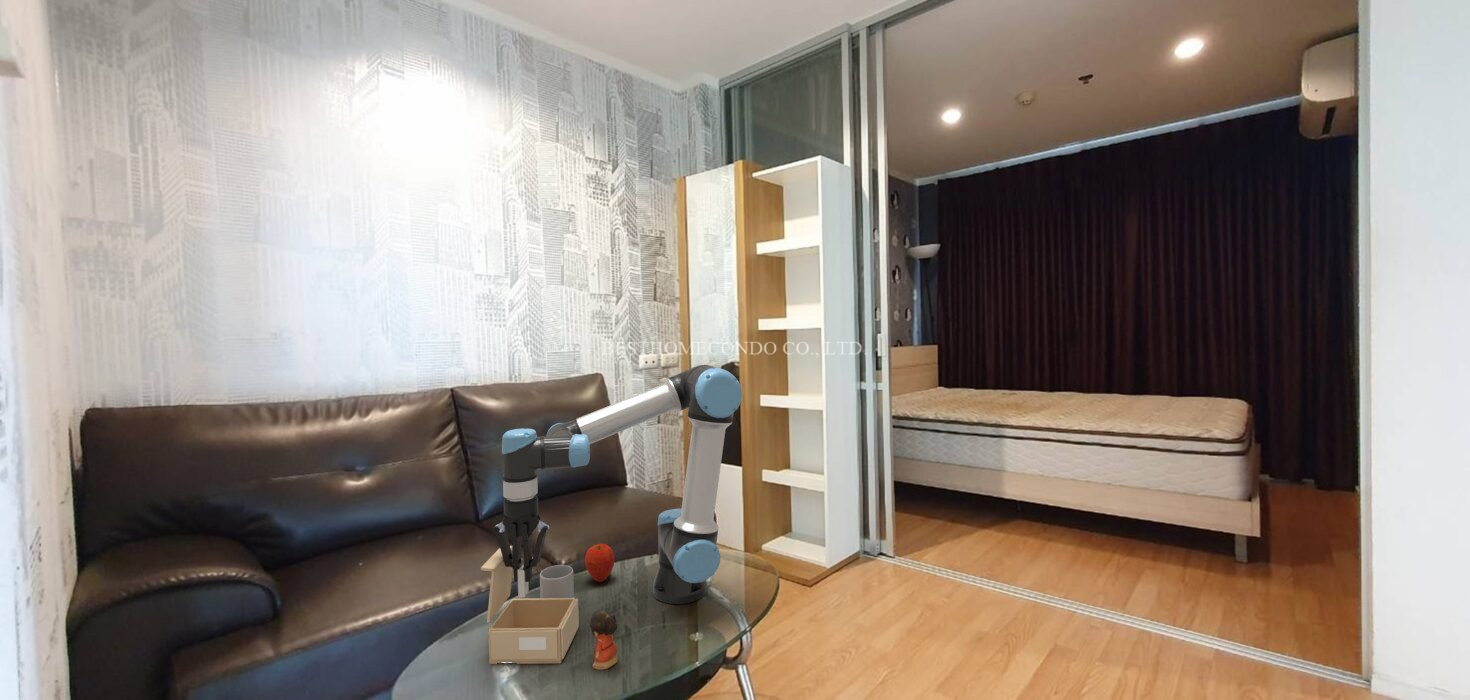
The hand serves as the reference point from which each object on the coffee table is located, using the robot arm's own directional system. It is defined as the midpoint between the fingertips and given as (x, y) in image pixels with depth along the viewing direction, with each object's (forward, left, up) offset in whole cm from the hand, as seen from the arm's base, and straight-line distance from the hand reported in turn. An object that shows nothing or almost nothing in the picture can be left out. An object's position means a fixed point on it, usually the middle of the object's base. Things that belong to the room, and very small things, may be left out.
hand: (523, 594), depth 137 cm
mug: (-2, -17, -13) cm, 22 cm away
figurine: (-20, +7, -13) cm, 25 cm away
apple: (-10, -33, -13) cm, 37 cm away
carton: (-2, 0, -13) cm, 13 cm away
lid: (+5, 0, +3) cm, 6 cm away
